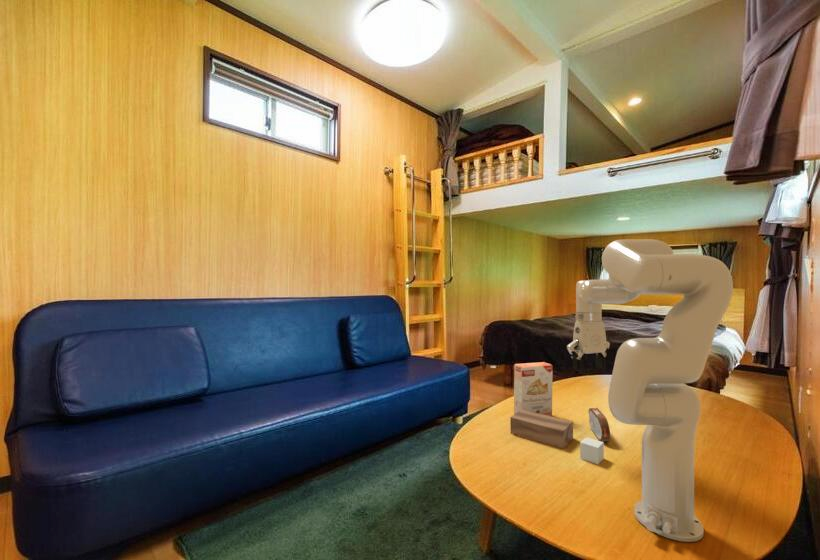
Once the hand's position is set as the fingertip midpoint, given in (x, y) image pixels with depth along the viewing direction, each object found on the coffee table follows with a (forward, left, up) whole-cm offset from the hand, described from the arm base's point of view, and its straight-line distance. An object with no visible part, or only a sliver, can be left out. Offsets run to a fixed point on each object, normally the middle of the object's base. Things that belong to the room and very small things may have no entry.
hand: (589, 369), depth 117 cm
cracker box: (+9, +24, -25) cm, 36 cm away
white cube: (-9, -4, -25) cm, 27 cm away
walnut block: (-5, +14, -25) cm, 29 cm away
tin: (+9, 0, -25) cm, 26 cm away
